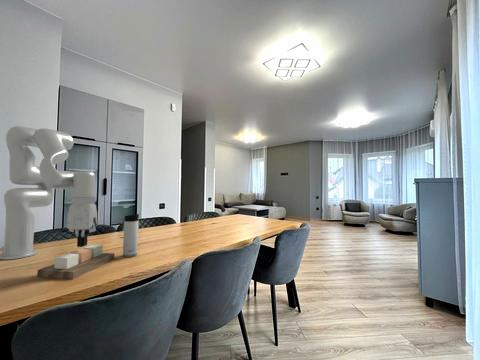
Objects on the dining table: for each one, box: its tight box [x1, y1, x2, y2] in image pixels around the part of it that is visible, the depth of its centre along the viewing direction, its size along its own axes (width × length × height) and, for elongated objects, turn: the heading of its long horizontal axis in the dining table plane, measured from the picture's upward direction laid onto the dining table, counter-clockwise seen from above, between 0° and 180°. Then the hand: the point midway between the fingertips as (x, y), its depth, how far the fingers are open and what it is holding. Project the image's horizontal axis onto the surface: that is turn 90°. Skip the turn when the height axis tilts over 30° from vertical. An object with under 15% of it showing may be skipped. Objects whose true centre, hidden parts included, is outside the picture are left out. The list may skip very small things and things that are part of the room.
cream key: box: [53, 253, 79, 269], centre depth 82 cm, size 5×5×4 cm
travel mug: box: [122, 213, 140, 258], centre depth 104 cm, size 6×7×20 cm
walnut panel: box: [36, 252, 115, 280], centre depth 88 cm, size 14×22×2 cm, turn 175°
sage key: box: [82, 244, 103, 258], centre depth 95 cm, size 5×5×4 cm
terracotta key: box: [69, 248, 91, 263], centre depth 88 cm, size 5×5×4 cm
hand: (82, 246), depth 88 cm, fingers closed
